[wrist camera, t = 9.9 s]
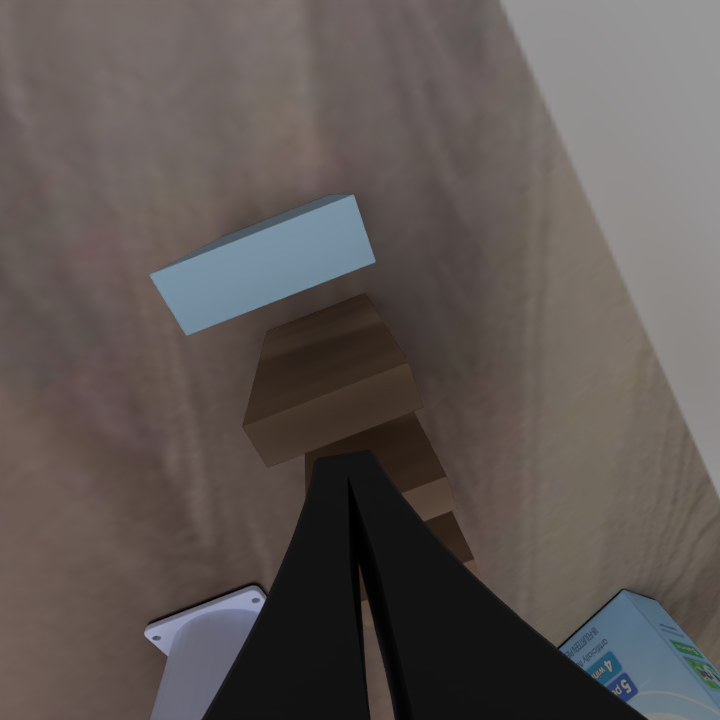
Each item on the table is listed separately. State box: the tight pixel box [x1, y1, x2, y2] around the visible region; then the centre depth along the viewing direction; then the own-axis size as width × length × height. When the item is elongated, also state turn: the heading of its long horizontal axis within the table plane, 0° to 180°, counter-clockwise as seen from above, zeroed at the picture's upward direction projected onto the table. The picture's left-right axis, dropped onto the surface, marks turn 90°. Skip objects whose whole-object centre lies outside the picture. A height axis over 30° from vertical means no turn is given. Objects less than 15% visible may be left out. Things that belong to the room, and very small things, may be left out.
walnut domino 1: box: [242, 293, 424, 468], centre depth 14 cm, size 2×5×8 cm, turn 110°
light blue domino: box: [150, 194, 376, 336], centre depth 12 cm, size 2×5×8 cm, turn 109°
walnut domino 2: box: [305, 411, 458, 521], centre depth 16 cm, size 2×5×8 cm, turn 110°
